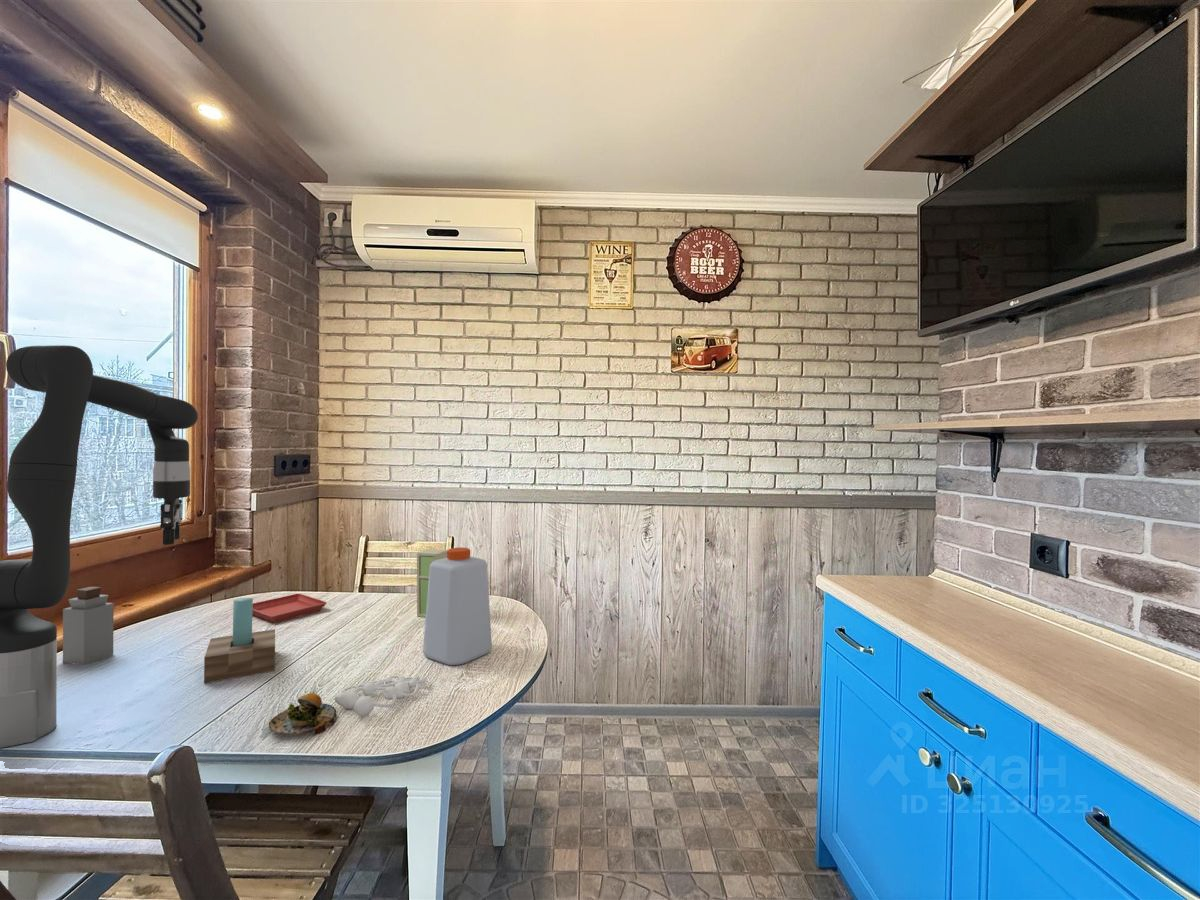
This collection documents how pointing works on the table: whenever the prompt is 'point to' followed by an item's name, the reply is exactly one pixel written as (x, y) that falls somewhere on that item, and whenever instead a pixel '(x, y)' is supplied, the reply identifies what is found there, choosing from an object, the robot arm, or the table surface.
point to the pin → (242, 621)
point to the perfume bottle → (88, 627)
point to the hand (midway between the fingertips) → (171, 541)
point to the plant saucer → (287, 607)
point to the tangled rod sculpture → (366, 703)
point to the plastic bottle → (457, 609)
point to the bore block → (239, 657)
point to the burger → (304, 716)
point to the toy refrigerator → (425, 576)
